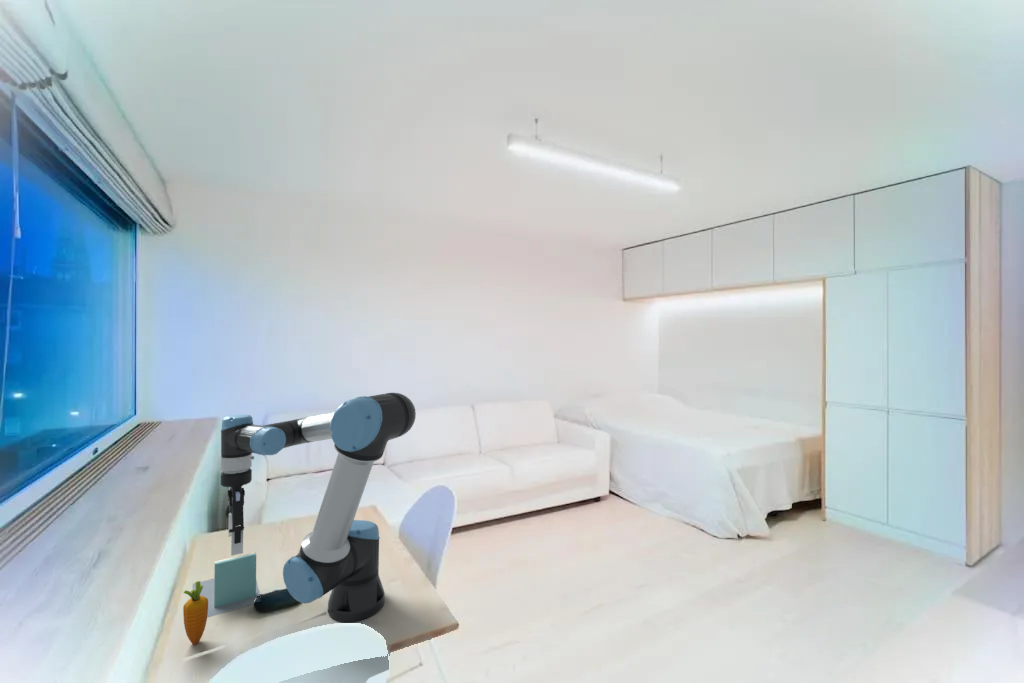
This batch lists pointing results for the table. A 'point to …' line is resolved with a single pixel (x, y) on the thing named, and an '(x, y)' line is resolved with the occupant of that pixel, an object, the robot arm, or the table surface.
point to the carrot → (195, 614)
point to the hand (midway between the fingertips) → (235, 544)
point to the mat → (209, 594)
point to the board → (234, 579)
